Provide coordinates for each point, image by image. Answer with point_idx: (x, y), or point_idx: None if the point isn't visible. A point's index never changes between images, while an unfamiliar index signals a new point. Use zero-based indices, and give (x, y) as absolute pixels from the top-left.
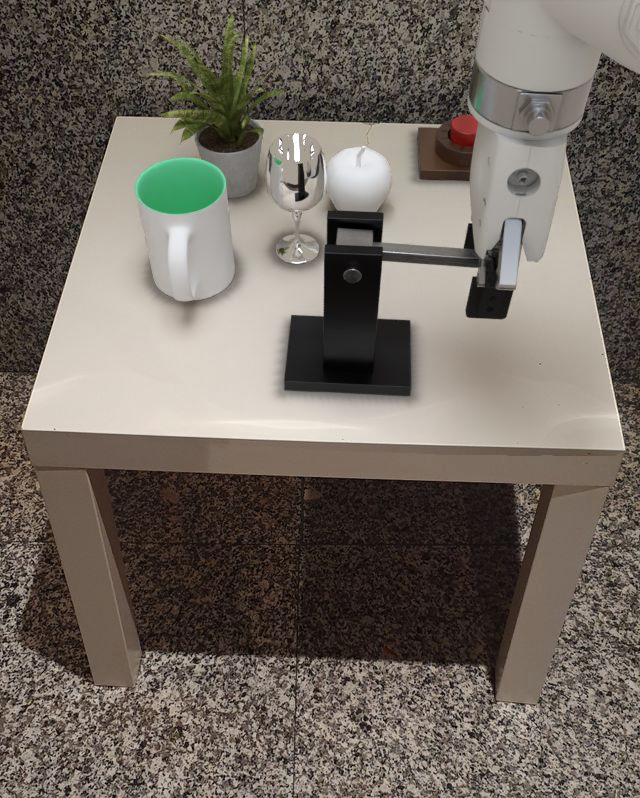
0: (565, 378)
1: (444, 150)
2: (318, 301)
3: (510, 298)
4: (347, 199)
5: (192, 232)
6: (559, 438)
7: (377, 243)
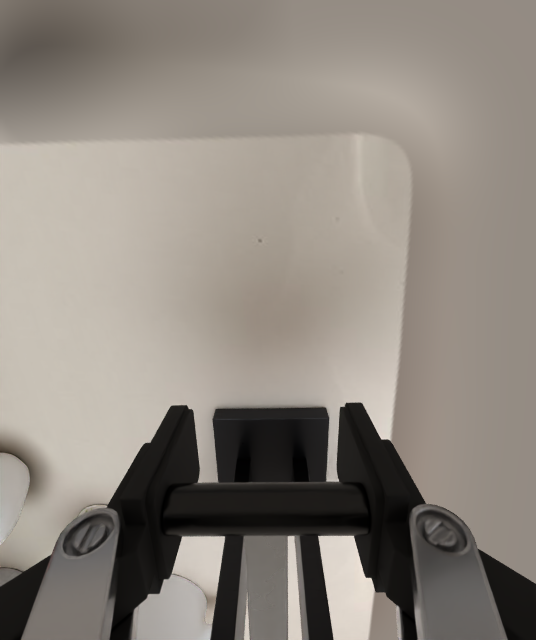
0: (285, 202)
1: None
2: None
3: (382, 445)
4: (10, 525)
5: None
6: (398, 223)
7: None
